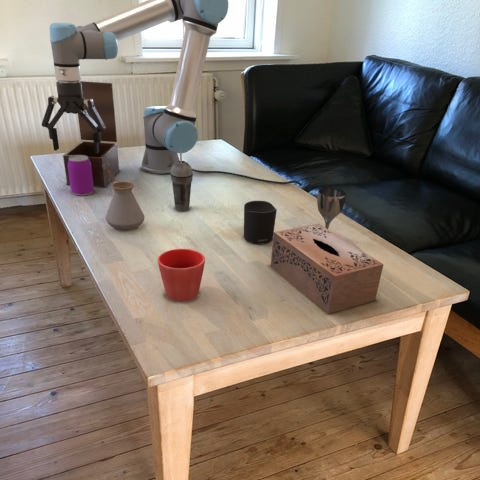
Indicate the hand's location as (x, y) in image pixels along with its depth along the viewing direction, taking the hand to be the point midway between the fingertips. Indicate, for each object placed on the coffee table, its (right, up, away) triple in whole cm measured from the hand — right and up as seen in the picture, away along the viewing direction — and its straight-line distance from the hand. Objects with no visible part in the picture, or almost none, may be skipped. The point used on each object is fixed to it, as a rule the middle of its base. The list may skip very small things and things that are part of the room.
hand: (76, 151), depth 169 cm
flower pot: (+40, -50, -45) cm, 78 cm away
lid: (+1, +20, +17) cm, 26 cm away
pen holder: (+59, -32, -17) cm, 69 cm away
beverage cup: (+35, -19, 0) cm, 40 cm away
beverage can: (0, -12, +8) cm, 14 cm away
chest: (0, -3, +21) cm, 21 cm away
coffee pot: (+17, -25, -10) cm, 32 cm away
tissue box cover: (+75, -46, -37) cm, 95 cm away
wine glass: (+79, -32, -16) cm, 87 cm away
